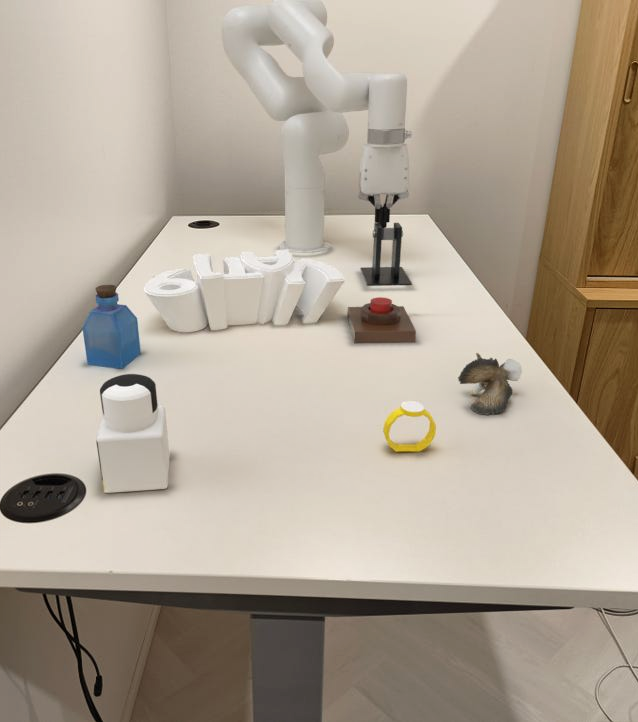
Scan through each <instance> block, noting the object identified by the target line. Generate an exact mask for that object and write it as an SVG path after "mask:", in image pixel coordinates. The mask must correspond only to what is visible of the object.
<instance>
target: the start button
mask: <svg viewBox="0 0 638 722" xmlns="http://www.w3.org/2000/svg"><path fill="white" fill-rule="evenodd" d="M369 303H370V311H373V312H377V313H387V312H391V309H392V304H393V300H392V299H390V298H389V297H383V296H381V297H380V296H379V297H373V298H371V299H370V302H369Z"/></svg>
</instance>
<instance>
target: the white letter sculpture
mask: <svg viewBox="0 0 638 722" xmlns="http://www.w3.org/2000/svg"><path fill="white" fill-rule="evenodd" d="M255 253H256V252H254V251H253V250H251V251H242V252H241V253H240V255H239V256H240V258H239V257H238V256H230V257H229V256H228V257H224V258H222V264H223V265H222V266H223V273H222V272H214V271H213V265H212V257H211V254H209V253H197V254H194V255H192V260H193V264H194V269H195V273H196V277H195V278H196V281H194V277H193V274H192V270H191V269H187V268H177V269H169V270H166V271H163V272H161V273H159V274H157V275H155V276H154V277H152V278H151V279H149V280H148V281H147V282H146V284H145V285H144V287H143V292H144V293H145V294H146V296H147V297H148V299H149V301H150V302H151V304H152V305H153V306H154V308H155V309H156V311H157V312H158V313H159V315H160V317H161V318H162V319H163V321H164V322H165V324H166V325H167V326H168V328H169V329H170V330H172V331H174V332H178V333H194V332H199V331H201V330H203V329H205V328H206V327H208V326H209V330H210V331H211V332H212V331H221V330H226V329H227V328H228V326H243V325H245V326H247V325H255V324H261V325H264V324H266V323H268V322H270V321H272V323H273V324H274V326H286V325H288V324H289V322H290V320H291V318H292V316H293V313H294V312H295V309H296V307H297V308H298V309H300V311H301V312H302V314H300V317H301V319H302V323H303V324H317V322H318V321H319V319H320V318H321V316H322V315H323V313H324V312H325V311H326V309H328V307H329V305H330V303H331V302H332V301H333V299H334V298H335V296H336V295H337V293H338V292H339V290H340V289H341V288H342V286H343V285H344V283H345V282H346V277H345V275H344V274H343V273H342V272H341V270H339V269H338V268H336V267H334V266H333V265H330V264H328V263H326V262H324V261H320V260H315V259H312V258H307V257H302V258H300V259H298V260H296V261H295V260H294V255H293V254H292V252H289V251H288V250H279V249H275V250H274V251H273V253H272V256H256V254H255Z"/></svg>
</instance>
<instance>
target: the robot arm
mask: <svg viewBox="0 0 638 722" xmlns="http://www.w3.org/2000/svg"><path fill="white" fill-rule="evenodd" d="M327 23H328V11H327V8H326V7H325V4H324V3H323V1H321V0H272V1H270V3H269V5H251V4H250V5H242V6H241V5H240V6H237V7H234V8H232V9H230V10H229V11H227V13H226V14H225V15H224V17H223V20H222V23H221V42H222V46H223V49H224V52H225V55H226V57H227V59H228V61H229V62H230V64H231V65H232V67H233V68H234V69H235V70H236V71H237V73H238V74H239V75H240V76H241V78H242V79H243V80H244V81H245V83H246V84H247V86H248V87H249V89H250V91H251V92H252V94H253V95H254V97H255V98H256V100H257V101H258V102H259V104H260V105H261V107H262V108H263V110H264V111H265V112H266V114H267V115H268V116H269V117H270V118H271V119H272V120H274V121H278V122H283V124H282V126H281V128H280V132H279V142H280V148H281V153H282V159H283V170H284V241H282V242H280V243H279V244H278V250H288V251H289V252H290V253H294V254H315V253H319V252H324V251H327V250H329V249H330V248H331V244H330V243H329V242H328V241H326V240H325V204H326V203H325V202H326V201H325V199H326V198H325V195H326V175H325V169H324V167H323V164H322V162H321V159H320V156H321V155H326V154H333V153H336V152H338V151H339V152H340V151H341V150H342V149H343V148H344V147H345V146H346V145H347V143H348V140H349V135H350V134H349V133H350V132H349V131H350V130H349V125H348V122H347V120H346V117H345V116H344V114H343V113H350V112H351V113H352V112H362V111H367V135H366V136H367V137H366V143H365V144H363V145H362V149H361V154H360V161H359V162H360V163H359V172H358V189H359V190H358V194H357V198H358V199H359V200H362V201H367V202H369V203H370V204H371V205H372V206H373V207H374V223H379V224H380V225H381V227H382V226H383V227H386V228H388V227H387V226H388V223H390V220H391V219H390V218H391V209H392V208H393V206H394V205H395V204H396V203H397V202H398V201H401V200H404V199H407V198H409V196H410V195H409V185H410V184H409V183H410V164H409V162H410V161H409V160H410V159H409V152H408V151H409V150H408V144H407V143H405V142H406V140H407V139H411V138H412V131H410V130H407V129H406V128H405V127H406V111H407V92H408V78H407V76H406V75H405V74H404V73H400V72H384V73H383V72H381V73H376V72H369V71H365V72H364V71H363V72H362V71H359V72H340V71H339V70H338V69H337V68H336V67H335V66H334V65H333V64H332V62H330V61H329V59H328V57H329V56H330V54H331V53H332V50H333V48H334V46H335V45H334V44H335V38H334V34H333V32H331V30H330V29H328V27H327ZM283 45H285V46H286V47H287V48H288V49H289V50H290V52H291V53H292V54H293V55H294V56H295V57H296V58H297V59H298V60H299V61H300V62H301V64H302V65H301V67H302V76H290V75H288V74H287V73H286V72H285V71H284V69H282V67H281V66H280V64H279V63H278V61H277V60H276V59H275V58H274V56H273V55H272V54H270V53H269V52H267V51H266V50H264V49H263V48H262V47H266V46H267V47H270V46H271V47H274V46H283ZM381 195H385V200H384V203H383V205H382V203H381Z"/></svg>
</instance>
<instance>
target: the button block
mask: <svg viewBox="0 0 638 722" xmlns="http://www.w3.org/2000/svg"><path fill="white" fill-rule="evenodd" d="M347 321H348V326H349V329H350V333H351V335H352V340H353V343H354V344H413V343H414V344H415V343H416V335H417V330H416V328H415V327H414V326H415V325H414V324H413V322H412V321H411V318H410V316H409V315H408V312H407V311H406V309H405V306H403V305H396V304H394V303H392V309H391V312H387V313H377V312H373V311H370V302H368V303H365V304H364V305H362V306H348V307H347Z"/></svg>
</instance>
